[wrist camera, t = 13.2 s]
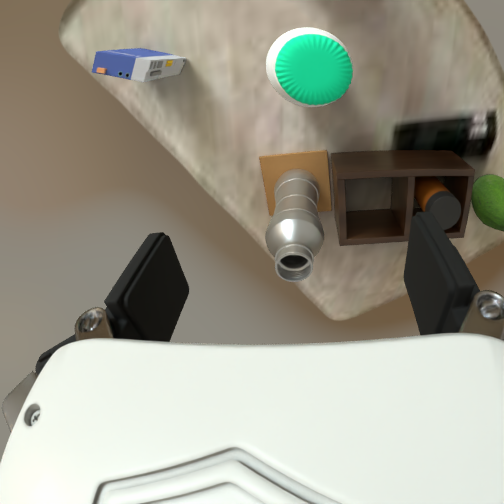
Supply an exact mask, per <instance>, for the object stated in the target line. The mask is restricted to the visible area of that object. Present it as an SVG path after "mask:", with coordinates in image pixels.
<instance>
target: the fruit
mask: <svg viewBox="0 0 504 504" xmlns="http://www.w3.org/2000/svg"><path fill="white" fill-rule="evenodd" d="M471 200H472V205H473V208H474V211H475V213H476V215H477V217H478V218H479V219H480V220H481V221H482V222H483V223H484V224H485V225H487V226H489V227H492V228H494V229H497V230H501V231H504V179H503V178H502V177H499V176H497V175H492V174H491V175H484V176H482V177H480V178H478V179H477V180H476V181H475V183H474V185H473V188H472V195H471Z"/></svg>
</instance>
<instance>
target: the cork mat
mask: <svg viewBox="0 0 504 504" xmlns="http://www.w3.org/2000/svg"><path fill="white" fill-rule="evenodd" d="M259 159H260V165H261V170H262V175H263V181H264V186H265V192H266V197H267V203H268V208H269V214H270V216H271V215H274V211H275V207H276V201H275V196H274V187H275V184H276V182H277V180H278V179H279V177H280V176H281V175H282V174H283V173H285V172H286V171H288V170H291V169H303V170H306V171H308V172H310V173H311V174H313V175H314V177H315V178H316V180H317V181H318V183H319V186H320V195H319V200H318V203H317V211H318V212H322V211H332V209H331V194H330V180H329V168H328V157H327V150H323V151H311V152H300V153H289V154H280V155H271V156H262V157H259Z"/></svg>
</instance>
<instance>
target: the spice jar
mask: <svg viewBox="0 0 504 504" xmlns="http://www.w3.org/2000/svg"><path fill="white" fill-rule="evenodd" d="M414 198H415V200H416V201H417V202H418V204H419V206H420V207H421V209H422V210H423V212H432V213H433V215H434V216H435V218H436V219H437V221H438V222H439V224H440V225H441V227H442V229H443V230H446V229H449V228H451V227H452V226H453V225H455V224H456V222H457V221H458V219H459V217H460V215H461V205H460V203H459V201H458V200H457V199H456V197H455V196H454V195H453V194H452V193H450V192H449V190H448V189H447V188H446V187H445V186H444V185H443V184H442V183H441V182H440V180H439V179H438V178H437V177H436V176H415V187H414Z"/></svg>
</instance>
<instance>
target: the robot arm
mask: <svg viewBox="0 0 504 504" xmlns="http://www.w3.org/2000/svg"><path fill="white" fill-rule="evenodd" d="M404 282H405V285H406V288H407V291H408V295H409V297H410V301H411V304H412V307H413V311H414V314H415V317H416V321H417V324H418V328H419V331H420V336H409V337H399V338H389V339H376V340H364V341H349V342H332V343H308V344H270V345H269V344H268V345H267V344H260V345H258V344H256V345H255V344H253V345H252V344H201V343H177V342H169V341H170V339H171V336H172V334H173V331H174V329H175V326H176V324H177V321H178V319H179V316H180V314H181V311H182V309H183V306H184V304H185V301H186V299H187V297H188V294H189V286H188V283H187V281H186V278H185V276H184V273H183V271H182V268H181V266H180V263H179V261H178V258H177V255H176V253H175V250H174V248H173V245H172V242H171V240H170V238H169V236H167V235H165V234H164V233H163V232H162V233H152V234H149V235H148V237H147V238H146V239H145V241H144V242H143V244H142V245H141V247H140V248H139V249H138V251H137V252H136V254H135V255H134V257H133V258H132V260H131V261H130V263H129V264H128V266H127V267H126V268H125V270H124V272H123V273H122V275H121V276H120V278H119V279H118V281H117V282H116V284H115V285H114V287H113V288H112V290H111V292H110V293H109V295H108V296H107V298H106V299H105V301H104V302H105V304H106V306H107V307H106V309H105V310H104V309H103V308H99V307H95V308H91V309H89V310H87V311H86V312H84V313H83V314H82V315H81V316H80V317H79V318H78V319H77V321H76V324H75V334H74V335H73V336H71V337H69V338H68V339H66V340H65V341H63V342H61V343H59V344H58V345H56V346H54V347H53V348H51V349H49V350H48V351H46V352H44V353H43V354H42V355H41V356H40V357H39V360H38V361H37V364H36V373H34V372H33V371H32V372H31V373H30V374H29V375H28V376H27V377H26V378H25V379H24V380H23V381H22V382H20V383H19V384H18V385H17V386H16V387H15V388H14V390H12V391H11V392H10V393H9V394H8V395H7V397H6V398H5V399H4V402H3V405H2V411H3V414H4V417H5V419H6V422H7V425H8V427H9V429H10V432H11V435H10V438H9V440H8V443H7V446H6V449H5V452H4V454H3V457H2V460H1V464H0V504H504V297H503V296H502V295H500V294H498V293H497V292H494V291H490V290H484V291H480V290H479V288H478V286H477V284H476V282H475V280H474V279H473V277H472V275H471V273H470V271H469V270H468V268H467V266H466V264H465V262H464V261H463V259H462V257H461V255H460V254H459V252H458V250H457V249H456V247H455V246H453V245H452V243H451V241H450V240H449V238H448V237H447V235H446V233H445V232H444V230H443V229H442V227H441V225H440V224H439V222H438V221H437V219H436V218H435V216H434V215H433V213H432V212H417V213H416V215H415V216H413V217H412V218H411V225H410V234H409V242H408V250H407V257H406V264H405V270H404Z"/></svg>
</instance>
